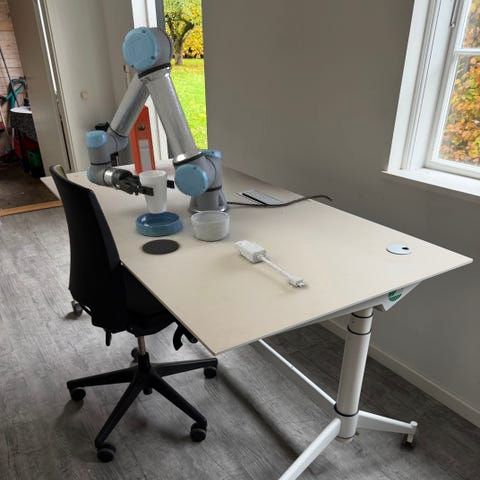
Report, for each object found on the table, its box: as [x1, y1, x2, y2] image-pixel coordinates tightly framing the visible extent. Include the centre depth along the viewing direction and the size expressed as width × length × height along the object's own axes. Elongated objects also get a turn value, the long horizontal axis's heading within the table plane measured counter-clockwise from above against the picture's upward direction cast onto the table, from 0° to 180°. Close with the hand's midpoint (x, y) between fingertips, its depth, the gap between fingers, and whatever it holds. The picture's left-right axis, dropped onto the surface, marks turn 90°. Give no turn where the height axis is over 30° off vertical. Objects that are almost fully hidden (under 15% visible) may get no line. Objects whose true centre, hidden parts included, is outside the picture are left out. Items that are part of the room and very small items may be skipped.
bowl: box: [134, 210, 182, 237], centre depth 170 cm, size 16×16×4 cm
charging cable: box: [234, 239, 306, 287], centre depth 141 cm, size 5×32×3 cm, turn 32°
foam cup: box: [138, 169, 168, 213], centre depth 164 cm, size 10×9×13 cm
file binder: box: [129, 104, 157, 176], centre depth 229 cm, size 8×17×32 cm, turn 20°
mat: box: [141, 238, 179, 255], centre depth 156 cm, size 12×12×1 cm
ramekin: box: [190, 211, 230, 242], centre depth 162 cm, size 13×13×7 cm
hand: (163, 188), depth 161 cm, fingers closed on foam cup, 9 cm apart
